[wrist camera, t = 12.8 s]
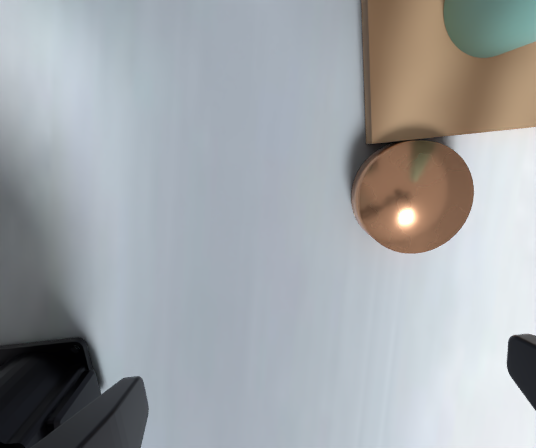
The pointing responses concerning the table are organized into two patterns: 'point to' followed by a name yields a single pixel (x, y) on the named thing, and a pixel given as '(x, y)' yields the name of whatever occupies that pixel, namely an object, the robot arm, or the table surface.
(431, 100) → the board
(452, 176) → the copper dome
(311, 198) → the table surface
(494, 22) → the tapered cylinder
